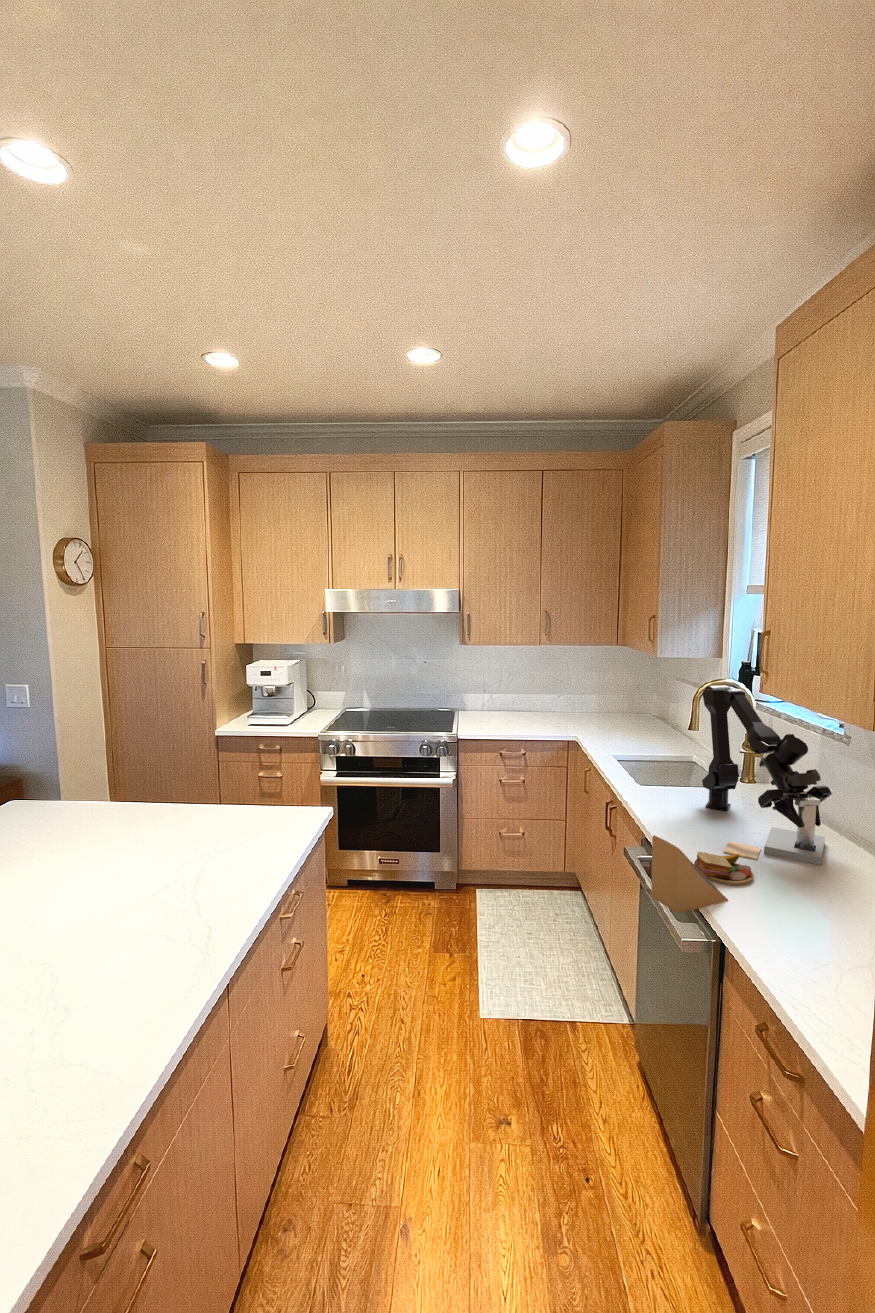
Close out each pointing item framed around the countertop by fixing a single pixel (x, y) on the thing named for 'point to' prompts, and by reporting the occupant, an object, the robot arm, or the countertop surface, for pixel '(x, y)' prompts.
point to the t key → (806, 823)
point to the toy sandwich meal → (723, 868)
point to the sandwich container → (679, 880)
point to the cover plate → (793, 846)
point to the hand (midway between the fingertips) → (810, 826)
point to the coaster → (742, 850)
